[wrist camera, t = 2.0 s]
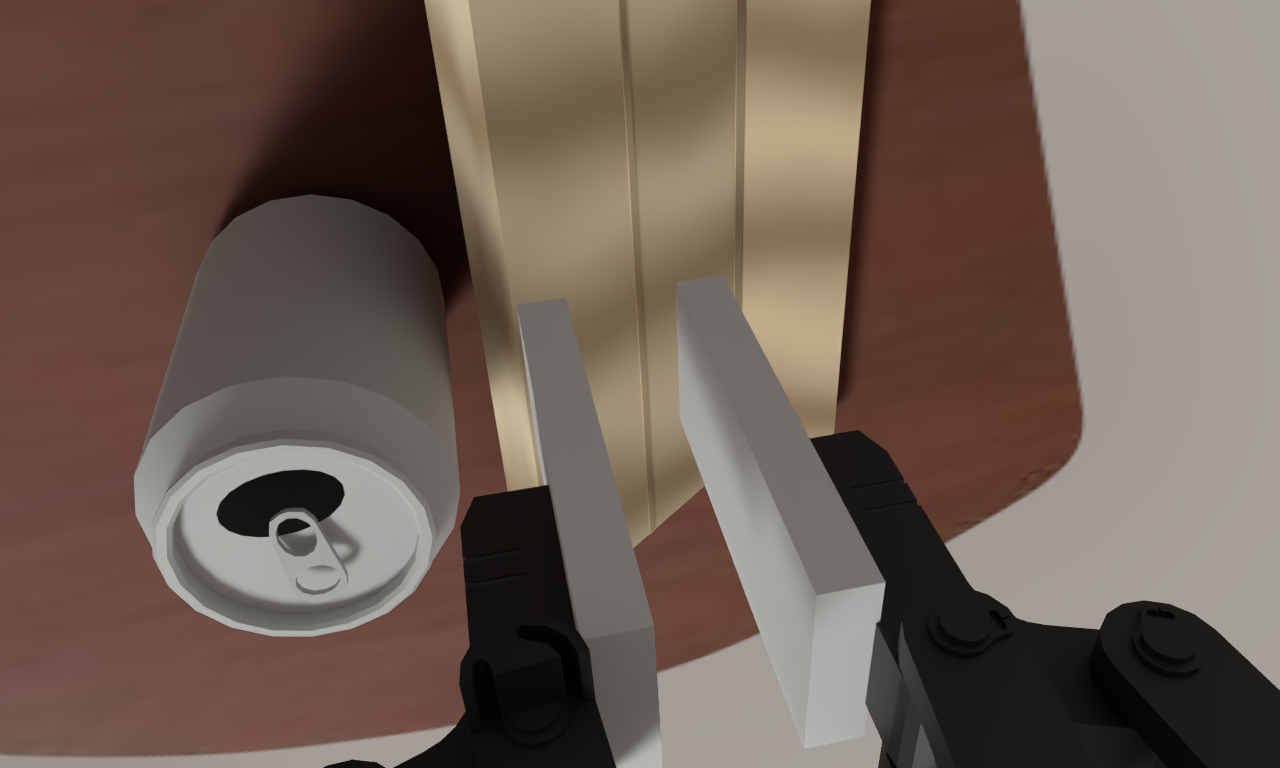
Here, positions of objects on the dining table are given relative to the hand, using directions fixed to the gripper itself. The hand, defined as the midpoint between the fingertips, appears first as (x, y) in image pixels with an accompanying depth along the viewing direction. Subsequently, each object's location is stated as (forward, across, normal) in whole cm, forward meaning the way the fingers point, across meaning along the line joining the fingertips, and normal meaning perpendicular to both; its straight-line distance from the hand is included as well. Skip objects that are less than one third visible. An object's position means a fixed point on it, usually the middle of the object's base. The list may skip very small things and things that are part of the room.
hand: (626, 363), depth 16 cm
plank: (+13, +1, -6) cm, 15 cm away
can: (+17, -7, -7) cm, 19 cm away
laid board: (+16, +8, -6) cm, 19 cm away
